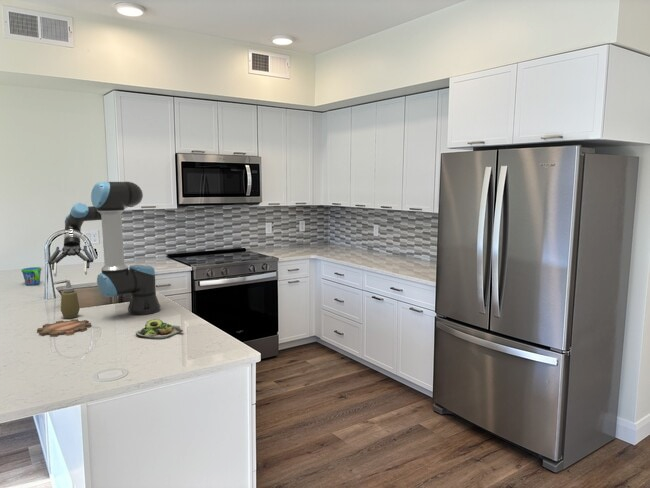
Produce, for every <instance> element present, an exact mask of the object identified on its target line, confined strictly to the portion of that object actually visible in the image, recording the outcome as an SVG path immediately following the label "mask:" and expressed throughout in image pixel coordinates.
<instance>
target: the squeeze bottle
mask: <svg viewBox="0 0 650 488" xmlns="http://www.w3.org/2000/svg"><path fill="white" fill-rule="evenodd" d="M65 282H66V283H65V287H63V289H62V290H63V292H62V293H61V294H60V296H61V297H60V301H61V302H60V312H61V314H62V316H63V318H64V319H74V318H77V317H79V314H80V313H79V312H80V303H79V298H78V293H77V292H76V291H75V287H74V286H72V284H71V281H70V280H66V281H65Z"/></svg>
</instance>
